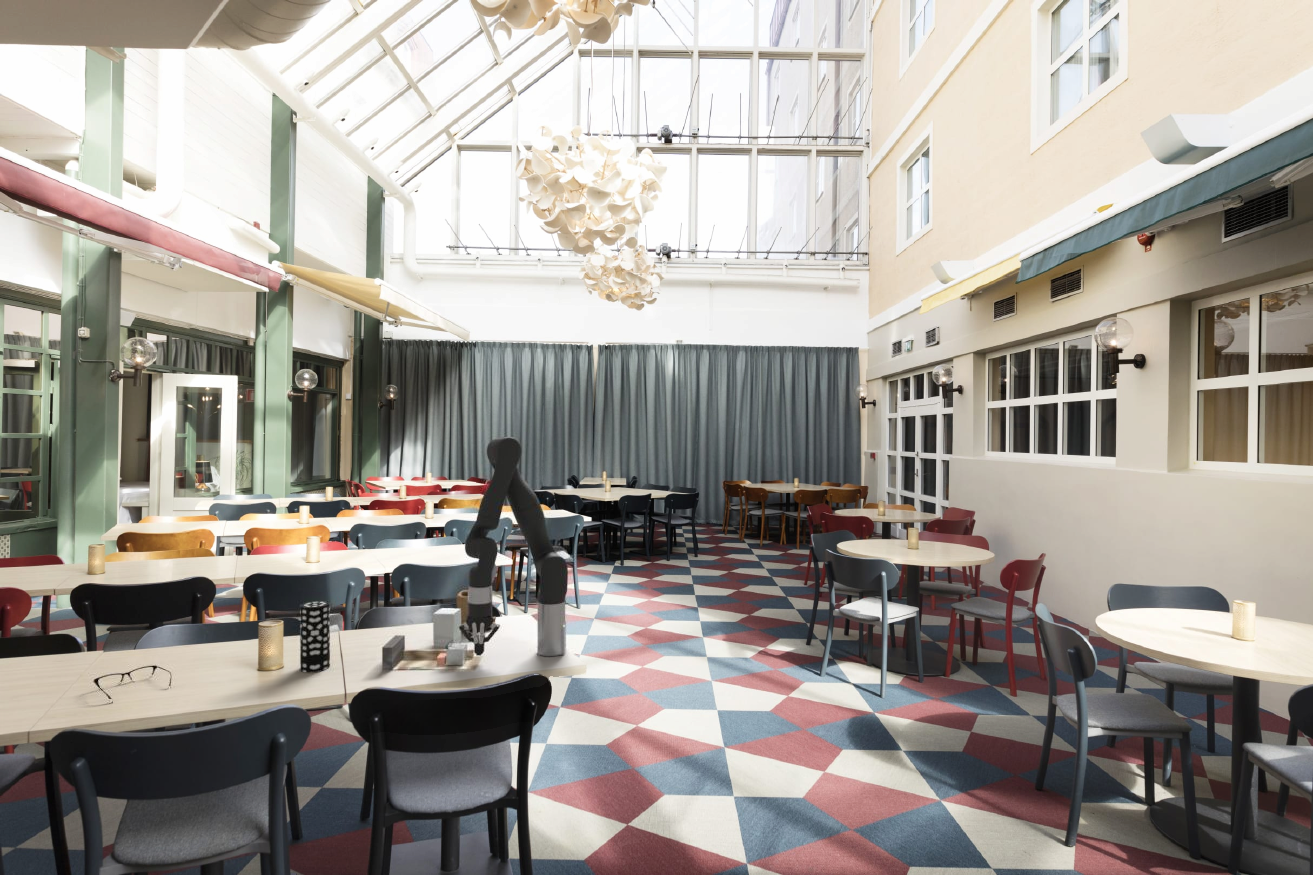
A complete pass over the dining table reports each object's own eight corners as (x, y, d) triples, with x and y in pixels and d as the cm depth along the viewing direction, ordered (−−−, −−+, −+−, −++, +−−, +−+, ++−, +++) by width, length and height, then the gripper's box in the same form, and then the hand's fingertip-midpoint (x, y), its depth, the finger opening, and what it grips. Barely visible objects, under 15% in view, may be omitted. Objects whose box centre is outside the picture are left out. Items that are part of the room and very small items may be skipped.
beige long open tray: (483, 660, 224) (483, 634, 224) (475, 674, 212) (475, 646, 212) (395, 661, 223) (395, 635, 223) (382, 675, 211) (382, 647, 211)
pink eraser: (447, 660, 220) (447, 653, 220) (444, 665, 216) (444, 657, 216) (440, 660, 220) (440, 653, 220) (436, 665, 216) (436, 657, 216)
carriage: (467, 658, 221) (467, 639, 221) (462, 665, 215) (462, 645, 215) (450, 658, 221) (450, 639, 221) (445, 665, 215) (445, 645, 215)
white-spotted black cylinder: (294, 670, 215) (293, 606, 214) (315, 661, 222) (315, 599, 222) (314, 674, 212) (314, 608, 211) (336, 665, 220) (335, 602, 219)
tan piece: (453, 635, 251) (453, 594, 251) (454, 625, 263) (454, 586, 262) (496, 632, 255) (497, 591, 255) (495, 623, 267) (495, 584, 266)
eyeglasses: (159, 676, 211) (158, 662, 210) (176, 688, 201) (176, 675, 201) (90, 692, 198) (90, 678, 198) (105, 706, 188) (105, 691, 188)
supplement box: (461, 644, 241) (462, 608, 241) (453, 651, 234) (453, 613, 233) (441, 643, 242) (441, 607, 241) (432, 650, 234) (432, 613, 234)
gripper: (503, 597, 222) (502, 651, 222) (462, 596, 222) (461, 650, 222) (498, 603, 215) (497, 659, 215) (455, 602, 214) (454, 658, 215)
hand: (479, 654), depth 219 cm, fingers closed
